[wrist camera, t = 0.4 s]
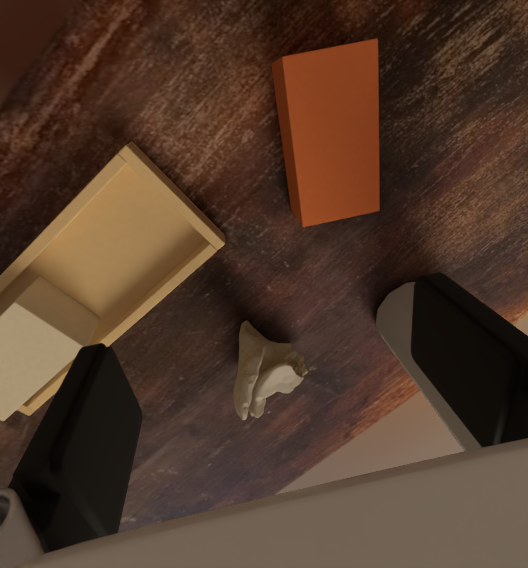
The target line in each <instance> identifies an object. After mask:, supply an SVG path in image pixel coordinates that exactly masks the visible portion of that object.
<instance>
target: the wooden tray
mask: <svg viewBox="0 0 528 568" xmlns="http://www.w3.org/2000/svg"><path fill="white" fill-rule="evenodd" d="M224 244H225V239H224V234H223V233H222V232H221V231H220V230H219V229H218V228H217V227H216V226H215V225H214V224H213V223H212V222H211V221H210V220H209V218H208V217H207V216H206V215H205V214H204V213H203V212H202V211H201V210H200V209H199V208H198V207H197V206H196V205H195V204H194V203H193V202H192V201H191V200H190V199H189V198H188V197H187V196H186V195H185V194H184V193H183V192H182V191H181V190H180V189H179V188H178V187H177V186H176V185H175V184H174V183H173V182H172V181H171V180H170V179H169V178H168V177H167V176H166V175H165V174H164V173H163V172H162V171H161V170H160V169H159V168H158V167H157V166H156V165H155V164H154V163H153V162H152V161H151V160H150V159H149V158H148V157H147V156H146V155H145V154H144V153H143V152H142V151H141V150H140V149H139V148H138V147H137V146H136V145H135V144H134V143H133V142H130V143H129V144H127V145H125V146H124V147H123V148H122V149H121V150H120V151H119V152H118V153H117V154H116V155H115V156H114V157H113V158H112V159H111V160H110V161H109V162H108V163H107V165H106V166H105V167H104V168H103V169H102V170H101V171H100V172H99V173H98V174H97V175H96V176H95V177H94V178H93V179H92V180H91V181H90V182H89V183H88V184H87V185H86V186H85V187H84V189H83V190H82V191H81V192H80V193H79V194H78V195H77V196H76V197H75V198H74V199H73V200H72V201H71V202H70V203H69V204H68V205H67V206H66V207H65V208H64V209H63V210H62V212H61V213H60V214H59V215H58V216H57V217H56V218H55V219H54V220H53V221H52V222H51V223H50V224H49V225H48V226H47V227H46V228H45V229H44V230H43V231H42V232H41V233H40V234H39V236H38V237H37V238H36V239H35V240H34V241H33V242H32V243H31V244H30V245H29V246H28V247H27V248H26V249H25V250H24V251H23V252H22V253H21V254H20V255H19V256H18V257H17V259H16V260H15V261H14V262H13V263H12V264H11V265H10V266H9V267H8V268H7V269H6V270H5V271H4V272H3V273H2V274H1V275H0V315H1V314H2V313H3V312H4V311H5V310H6V309H7V308H8V307H9V306H10V305H11V304H12V303H13V302H14V301H15V300H16V299H17V298H18V297H19V296H20V295H21V294H22V293H23V292H24V291H25V290H26V289H27V288H28V287H29V286H30V285H31V284H32V283H33V282H34V281H35V280H36V279H37V278H38V277H39V276H41V277H43V278H44V279H46V280H47V281H49V282H50V283H51V284H53V285H54V286H56V287H57V288H58V289H60V290H61V291H63V292H64V293H66V294H67V295H68V296H70V297H71V298H73V299H74V300H76V301H77V302H78V303H80V304H81V305H83V306H84V307H85V308H87V309H88V310H90V311H91V312H93V313H94V314H95V315H97V316H98V317H100V321H99V323H98V325H97V327H96V328H95V330H94V332H93V334H92V336H91V338H90V340H89V342H88V344H87V346H89V345H94V344H99V343H103V344H104V345H106V347H108V346H109V345H111V344H112V343H113V342H114V341H115V340H116V339H117V338H119V337H120V336H121V335H122V334H123V333H124V332H125V331H127V330H128V329H129V328H130V327H131V326H132V325H133V324H134V323H136V322H137V321H138V320H139V319H140V318H141V317H142V316H144V315H145V314H146V313H147V312H148V311H149V310H150V309H152V308H153V307H154V306H155V305H156V304H157V303H158V302H160V301H161V300H162V299H163V298H164V297H165V296H166V295H168V294H169V293H170V292H171V291H172V290H173V289H174V288H176V287H177V286H178V285H179V284H180V283H181V282H182V281H184V280H185V279H186V278H187V277H188V276H189V275H190V274H192V273H193V272H194V271H195V270H196V269H197V268H198V267H199V266H201V265H202V264H203V263H204V262H205V261H206V260H207V259H209V258H210V257H211V256H212V255H213V254H214V253H215V252H217V250H219V249H220V248H221V247H222V246H223V245H224ZM74 359H75V358H74ZM74 359H73V360H72V361H70V362H69V363H68V364H67V365H66V366H65V367H64V368H63V369H62V370H60V371H59V372H58V373H57V374H56V375H55V376H54V377H53V378H51V379H50V380H49V381H48V382H47V383H46V384H45V385H44V386H43V387H41V388H40V389H39V390H38V391H37V392H36V393H35V394H34V395H32V396H31V397H30V398H29V399H28V400H27V401H26V402H25V403H24V404H22V405H21V406H20V407H19V408H18V409H17V410H18V411H20V412H22V413H24V414H26V415H28V416H30V415H31V414H32V413H33V412H34V411H35V410H36V409H38V408H39V407H40V406H41V405H42V404H43V403H44V402H46V401H47V400H48V399H49V398H50V397H51V396H52V395H54V394H55V393H56V392H57V391H58V389H59V387H60V386H61V384H62V382H63V380H64V378H65V376H66V374H67V372H68V370H69V369H70V367H71V365H72V363H73V361H74Z"/></svg>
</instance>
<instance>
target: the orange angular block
mask: <svg viewBox="0 0 528 568" xmlns="http://www.w3.org/2000/svg"><path fill="white" fill-rule="evenodd" d="M271 67H272V74H273V81H274V89H275V96H276V103H277V111H278V118H279V125H280V132H281V140H282V147H283V154H284V162H285V169H286V176H287V184H288V191H289V198H290V205H291V211H292V213H293V214H294V215H295V217H296V218H297V219H298V221H299V222H300V224H301V225H302V226H303V227H306V226H311V225H316V224H320V223H325V222H330V221H335V220H339V219H344V218H349V217H353V216H358V215H363V214H368V213H372V212H377V211H380V186H379V93H378V39H377V38H376V39H370V40H365V41H360V42H355V43H350V44H345V45H339V46H334V47H329V48H324V49H319V50H313V51H308V52H303V53H298V54H293V55H288V56H283V57H281V58H279V59H278V60H276V61H275V62H273V63H272V64H271Z"/></svg>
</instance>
